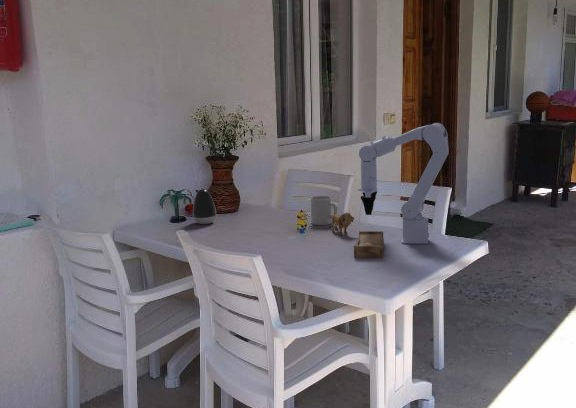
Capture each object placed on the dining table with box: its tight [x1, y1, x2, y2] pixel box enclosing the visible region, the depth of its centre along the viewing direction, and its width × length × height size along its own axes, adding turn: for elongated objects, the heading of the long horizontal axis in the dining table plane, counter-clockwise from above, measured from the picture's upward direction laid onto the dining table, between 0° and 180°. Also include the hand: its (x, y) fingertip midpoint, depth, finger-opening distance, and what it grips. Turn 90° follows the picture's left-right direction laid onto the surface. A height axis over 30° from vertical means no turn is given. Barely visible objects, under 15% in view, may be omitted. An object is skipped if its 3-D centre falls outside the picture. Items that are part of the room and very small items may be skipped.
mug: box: [310, 195, 338, 226], centre depth 250 cm, size 12×8×11 cm
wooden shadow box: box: [353, 230, 385, 259], centre depth 211 cm, size 10×19×4 cm, turn 169°
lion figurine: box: [328, 212, 356, 236], centre depth 235 cm, size 15×5×9 cm, turn 32°
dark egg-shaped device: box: [192, 188, 217, 225], centre depth 259 cm, size 10×10×15 cm
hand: (369, 212), depth 224 cm, fingers open, 7 cm apart
